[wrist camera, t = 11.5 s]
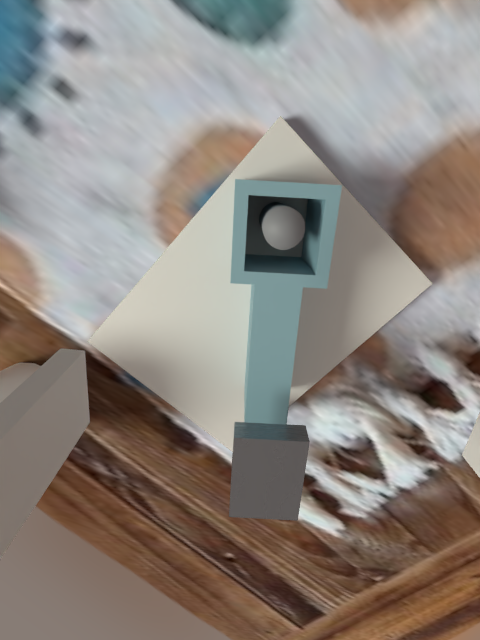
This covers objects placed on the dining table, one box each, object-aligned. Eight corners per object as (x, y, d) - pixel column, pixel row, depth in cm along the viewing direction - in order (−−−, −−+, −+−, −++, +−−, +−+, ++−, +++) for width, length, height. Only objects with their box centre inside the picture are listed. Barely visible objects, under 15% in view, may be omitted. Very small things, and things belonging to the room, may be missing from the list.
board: (278, 119, 25) (292, 92, 18) (423, 278, 29) (484, 310, 22) (94, 334, 31) (47, 380, 24) (234, 442, 35) (231, 511, 28)
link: (237, 180, 25) (235, 179, 20) (320, 185, 25) (342, 185, 20) (227, 386, 31) (223, 429, 26) (295, 390, 31) (305, 434, 26)
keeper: (237, 349, 32) (233, 437, 21) (286, 351, 32) (309, 441, 21) (234, 407, 34) (229, 516, 23) (280, 410, 34) (297, 520, 23)
